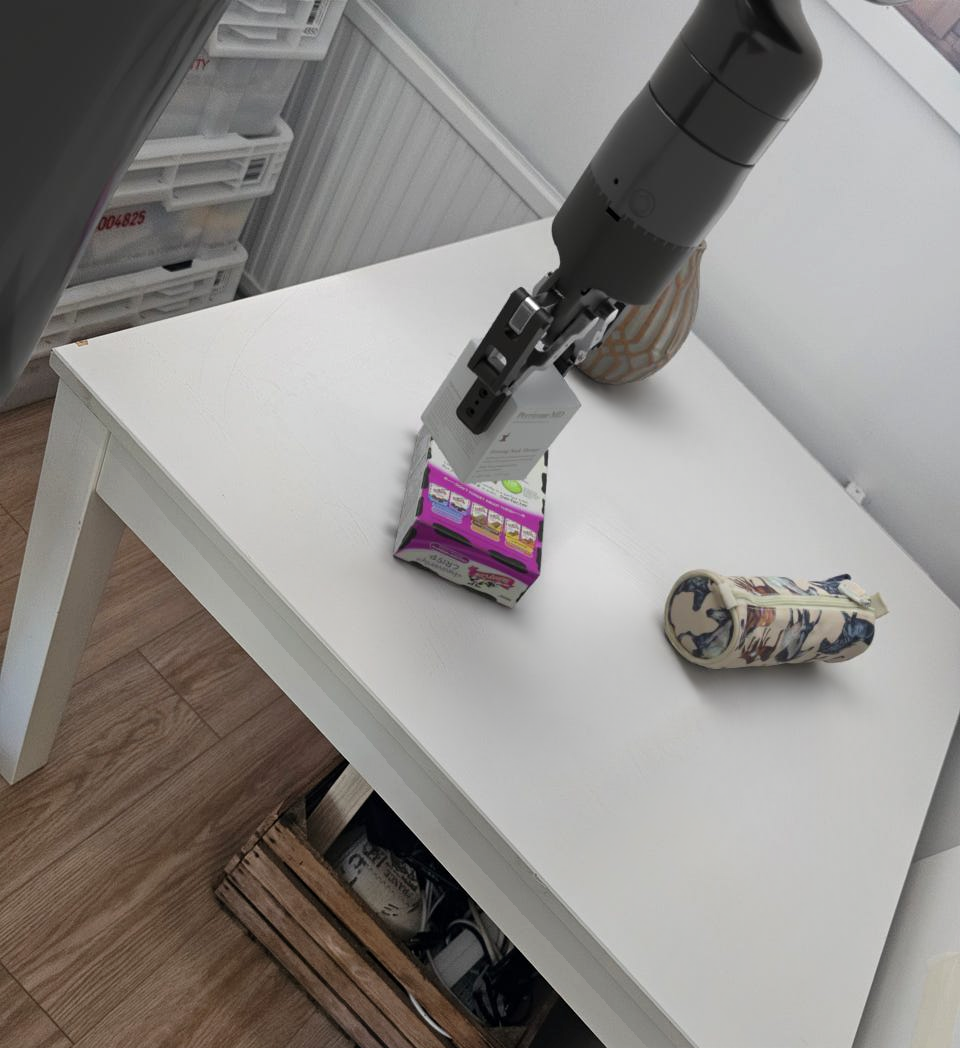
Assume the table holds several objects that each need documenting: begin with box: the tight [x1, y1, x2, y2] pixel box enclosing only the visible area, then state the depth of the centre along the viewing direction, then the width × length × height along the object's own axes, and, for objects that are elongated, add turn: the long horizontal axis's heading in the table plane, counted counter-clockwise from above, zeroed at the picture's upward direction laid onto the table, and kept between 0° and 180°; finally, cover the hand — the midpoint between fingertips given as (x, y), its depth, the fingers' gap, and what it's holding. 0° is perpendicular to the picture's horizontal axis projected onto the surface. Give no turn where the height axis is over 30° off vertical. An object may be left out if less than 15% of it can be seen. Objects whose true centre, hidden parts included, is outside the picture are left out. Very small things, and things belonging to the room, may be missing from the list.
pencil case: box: [663, 568, 891, 670], centre depth 95 cm, size 22×8×10 cm, turn 112°
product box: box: [420, 337, 582, 484], centre depth 68 cm, size 6×6×7 cm
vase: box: [575, 238, 708, 385], centre depth 110 cm, size 13×13×18 cm
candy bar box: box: [392, 423, 550, 609], centre depth 87 cm, size 11×5×16 cm
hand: (500, 408), depth 68 cm, fingers closed on product box, 7 cm apart
